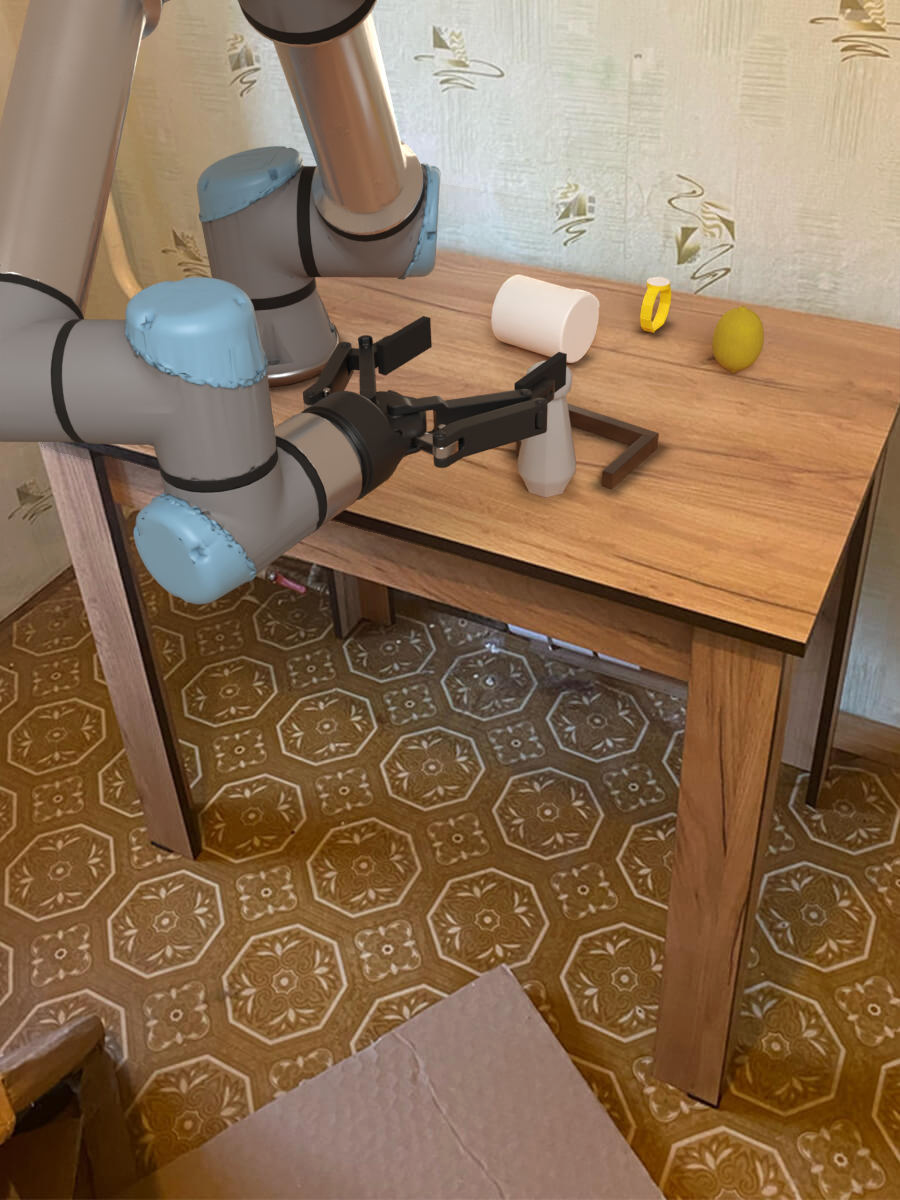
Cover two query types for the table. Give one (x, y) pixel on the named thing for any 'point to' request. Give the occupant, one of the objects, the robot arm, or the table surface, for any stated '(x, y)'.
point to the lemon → (738, 339)
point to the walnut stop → (620, 431)
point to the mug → (545, 317)
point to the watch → (649, 299)
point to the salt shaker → (550, 448)
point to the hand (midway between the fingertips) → (492, 349)
